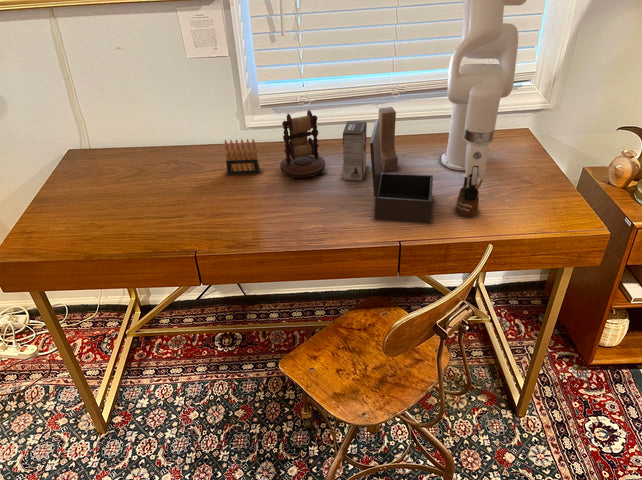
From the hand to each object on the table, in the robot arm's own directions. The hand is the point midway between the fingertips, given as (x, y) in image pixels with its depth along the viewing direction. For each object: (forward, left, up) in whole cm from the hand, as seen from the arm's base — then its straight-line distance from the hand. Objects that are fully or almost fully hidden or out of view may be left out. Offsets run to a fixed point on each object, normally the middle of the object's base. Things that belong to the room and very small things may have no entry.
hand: (469, 193), depth 153 cm
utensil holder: (0, 0, -6) cm, 6 cm away
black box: (+15, -10, -6) cm, 19 cm away
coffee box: (+18, -35, -6) cm, 40 cm away
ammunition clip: (+50, -53, -6) cm, 73 cm away
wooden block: (+6, -35, -6) cm, 36 cm away
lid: (+21, -15, +10) cm, 28 cm away
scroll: (+32, -45, -6) cm, 56 cm away
